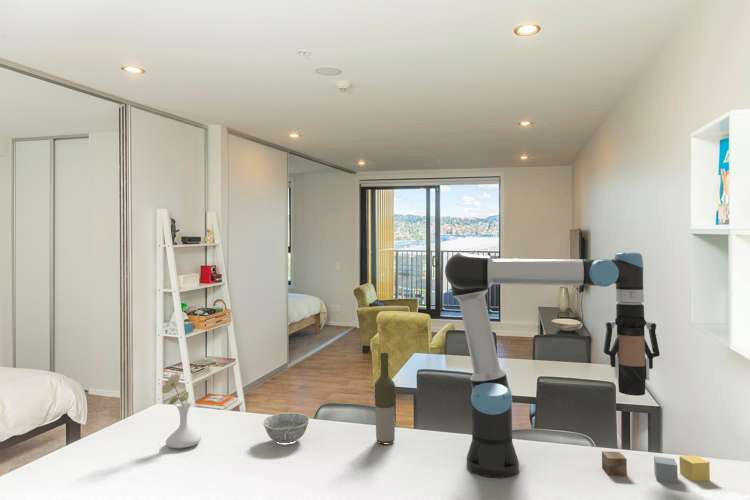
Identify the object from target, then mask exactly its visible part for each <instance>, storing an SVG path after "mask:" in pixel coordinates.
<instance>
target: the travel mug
mask: <svg viewBox="0 0 750 500" xmlns="http://www.w3.org/2000/svg"><path fill="white" fill-rule="evenodd" d="M616 338H617V339H618V338H619V349H618V351H617V353H616V356H617V357H618V367H619V379H617V384H618V392H619V393H620V394H622V395H626V396H636V397H637V396H644V395H646V379H645V372H646V366H645V365H646V362H645V357H646V353H645V340H646V336H645V327H643V328H625V327H619V326H617V325H616Z"/></svg>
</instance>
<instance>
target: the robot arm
mask: <svg viewBox="0 0 750 500" xmlns="http://www.w3.org/2000/svg"><path fill="white" fill-rule="evenodd" d="M444 268H445V269H444V274H445V277H446V280H447V281H448V283H449V285H450V287H451V291H452V297H453V298H454V299H456V300H457V301H458V302H459V303H458V304H459V309H460V312H461V318H462V324H463V327H464V333H465V336H466V337H465V338H466V343H467V347H468V352H469V357H470V361H471V362H470V363H471V366H472V372H473V373H472V375H470V377H469V380H470V384H471V389H472V390H471V396H470V401H471V443H470V445H469V448H468V451H467V455H466V468H468V470H469V471H471V472H472V473H474V474H476V475H479V476H483V477H488V478H499V479H500V478H508V477H512V476H514V475H516V474H517V473H518V472H519V471H520V464H519V463H520V461H519V458H518V455H517V452H516V448H515V446H514V442H513V407H512V406H513V405H512V404H513V397H512V395H513V394H512V392H511V391H512V390H511V388H510V386H509V382H508V378H507V372H506V371H504V370H503V369H502V368H501V367H500V363H499V362H500V361H499V358H498V353H497V348H496V343H495V339H494V334H493V330H492V325H491V321H490V315H489V314H490V313H489V311H488V306H487V300H486V294H487V292H488V291H489V288H491V286H493V285H521V286H522V285H530V286H533V285H534V286H536V285H537V286H539V285H540V286H541V285H542V286H543V285H544V286H587V287H588V286H591V287H592V286H594V287H595V286H597V287H603V288H604V287H609V286H611V285H614V284H615V301H616V302H617V303H616V305H615V307H616V308H615V309H616V310H615V311H616V313H615V314H616V316H615V317H616V318H615V319H614V320H613V321H605V323H604V324H605V327H606V331H605V339H604V343H603V344H604V345H603V353H604V354H605V355H608V356H609V358H610V359H609V361H610V363H609V365H610V367H611V368H613V377H614V378H615V379H616V380H618V379H619V367H618V357H617V351H618V349H619V338H618V339H617V337H616V338H615V340H614V342H613V345H612V347H611V342H612V336H613V329H614V328H615V326H616V327H617V326H619V327H625V328H643V327H644V328H645V326H646V329H648V334H649V339H650V345H651V348H652V351H651V349H650V347H649V345H648V343H647V341H646V339H645V362H646V365H645V366H646V372H645V381H647V382H648V381H650V370H653V368H654V365H653V364H654V361H653V359H654V358H655V357H656V358H657V357H660V355H661V354H660V351H659V350H660V349H659V344H658V339H657V334H656V329H657V324H656V323H655V322H652V321H651V322H649V321H648V322H647V320H646V319H645V305H644V304H643V303H644V302H645V299H644V261H643V256H642V254H641V253H640V252H617V253H615V256H614V258H612V259H607V258H599V259H594V258H593V259H591V258H590V259H586V258H585V259H584V258H583V259H580V258H579V259H575V258H574V259H573V258H571V259H569V258H568V259H566V258H565V259H559V258H557V259H556V258H555V259H554V258H552V259H550V258H549V259H548V258H546V259H541V258H536V259H535V258H529V259H528V258H527V259H526V258H496V259H495V258H492V257H491V256H490V255H480V254H479V255H478V254H474V253H471V252H459V253H456V254H454V255H452V256H451V257H450V258H449V259H448V261H447V262H446V265H445V267H444Z"/></svg>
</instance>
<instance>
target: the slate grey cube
mask: <svg viewBox="0 0 750 500" xmlns="http://www.w3.org/2000/svg"><path fill="white" fill-rule="evenodd" d="M653 460H654V476H655V479H656V481H657V482H662V483H670V484H677V485H678V484H679V481H678V480H679V479H678V477H679V476H678V465H677V462H676V459H675V458H672V457H671V458H670V457H664V456H656V455H655V456H653Z"/></svg>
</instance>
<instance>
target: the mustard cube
mask: <svg viewBox="0 0 750 500" xmlns="http://www.w3.org/2000/svg"><path fill="white" fill-rule="evenodd" d="M679 474H680V475H681V476H683V477H684V478H686V479H688V480H690V481H691V482H707V481H708V482H709V481H710V479H711V476H710V475H711V472H710V462H709V461H707V460H706V459H704V458H702V457H700V456H698V455H682V456H681V455H679Z"/></svg>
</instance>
